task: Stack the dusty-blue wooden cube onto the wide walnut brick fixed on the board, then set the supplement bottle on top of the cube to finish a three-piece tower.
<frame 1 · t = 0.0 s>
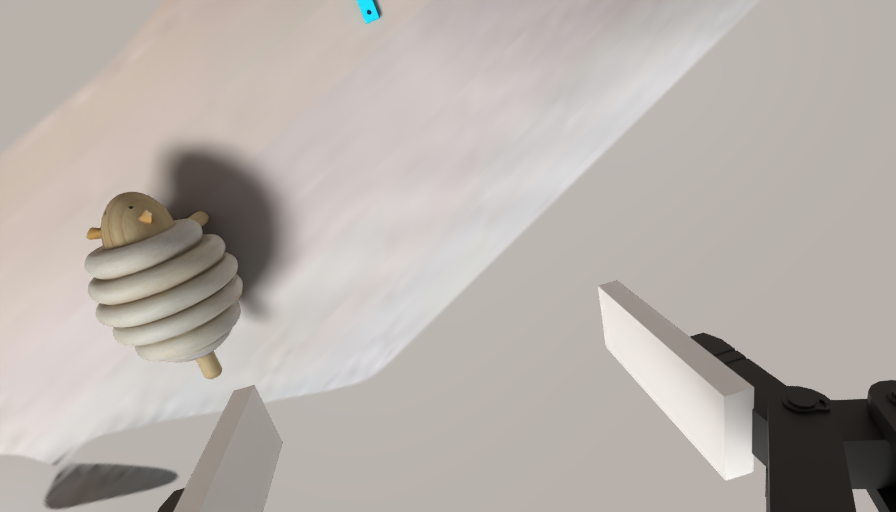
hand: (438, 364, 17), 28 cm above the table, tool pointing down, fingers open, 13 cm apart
toy sheep: (197, 265, 42), on the table
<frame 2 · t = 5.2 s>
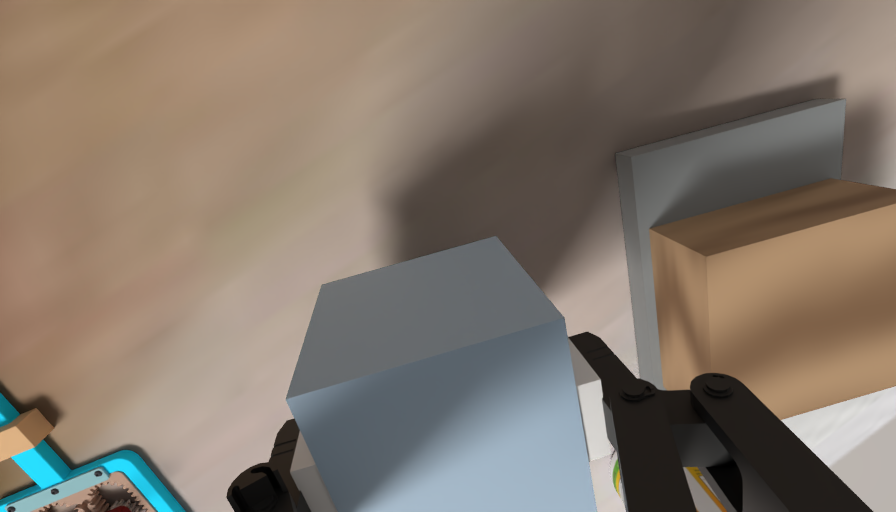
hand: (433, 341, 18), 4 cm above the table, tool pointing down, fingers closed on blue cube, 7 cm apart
board: (721, 277, 24), on the table
supplement bottle: (647, 456, 28), on the table
base brick: (741, 288, 22), resting on board
blue cube: (432, 335, 19), point 4 cm above the table, touching gripper
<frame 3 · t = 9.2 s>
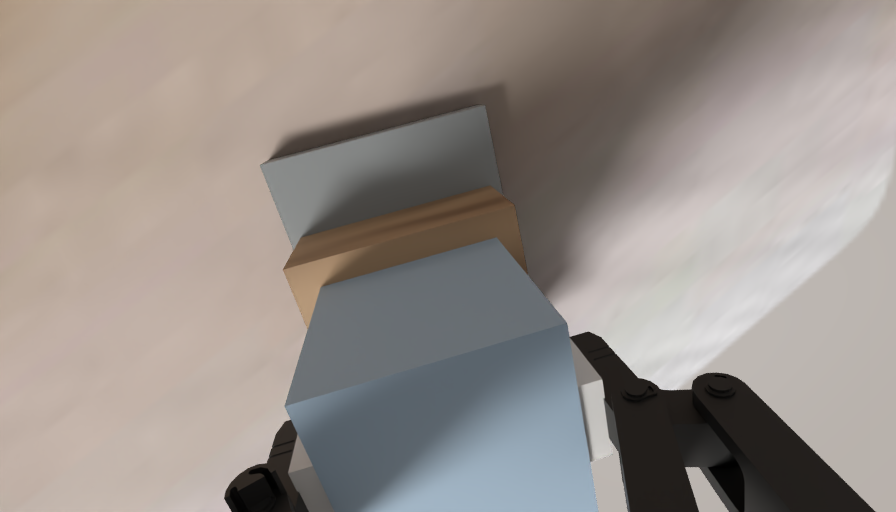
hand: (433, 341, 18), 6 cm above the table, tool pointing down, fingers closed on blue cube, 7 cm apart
board: (419, 284, 24), on the table
base brick: (421, 296, 22), resting on board
blue cube: (432, 338, 18), point 5 cm above the table, touching base brick, gripper
when the fingers open (6 cm above the table, at t = 9.7 s): blue cube stays where it is, resting on base brick.
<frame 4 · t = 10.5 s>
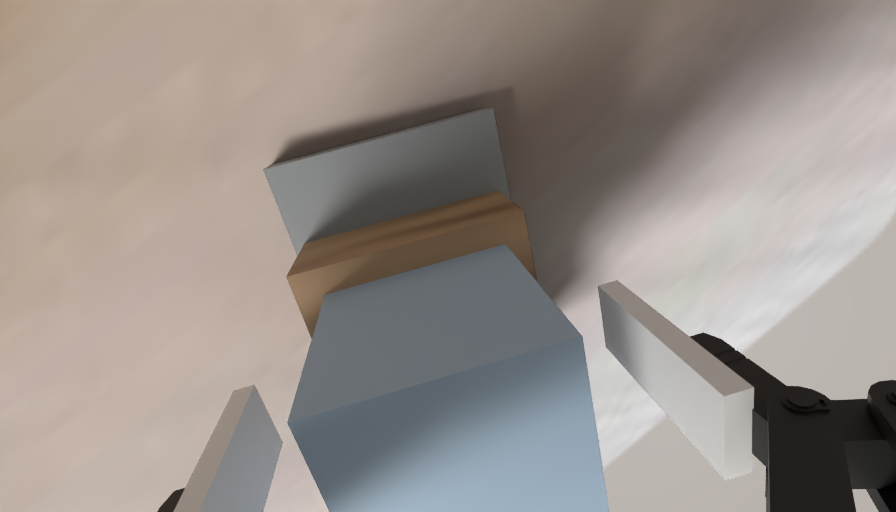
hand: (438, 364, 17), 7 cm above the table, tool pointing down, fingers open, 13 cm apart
board: (424, 290, 23), on the table
base brick: (427, 303, 22), resting on board
blue cube: (438, 346, 18), point 5 cm above the table, touching base brick
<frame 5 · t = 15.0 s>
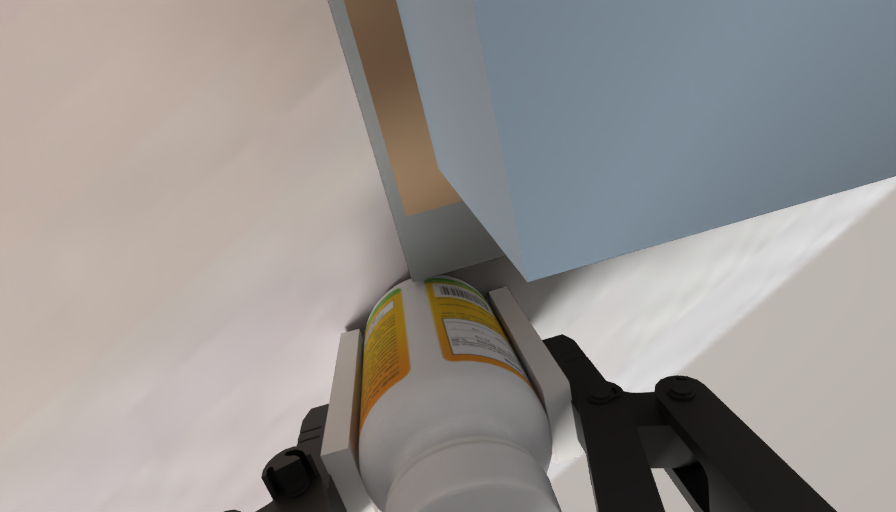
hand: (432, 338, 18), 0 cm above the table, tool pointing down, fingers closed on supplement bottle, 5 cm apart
board: (491, 10, 15), on the table
supplement bottle: (430, 328, 19), on the table, touching gripper
base brick: (502, 2, 13), resting on board
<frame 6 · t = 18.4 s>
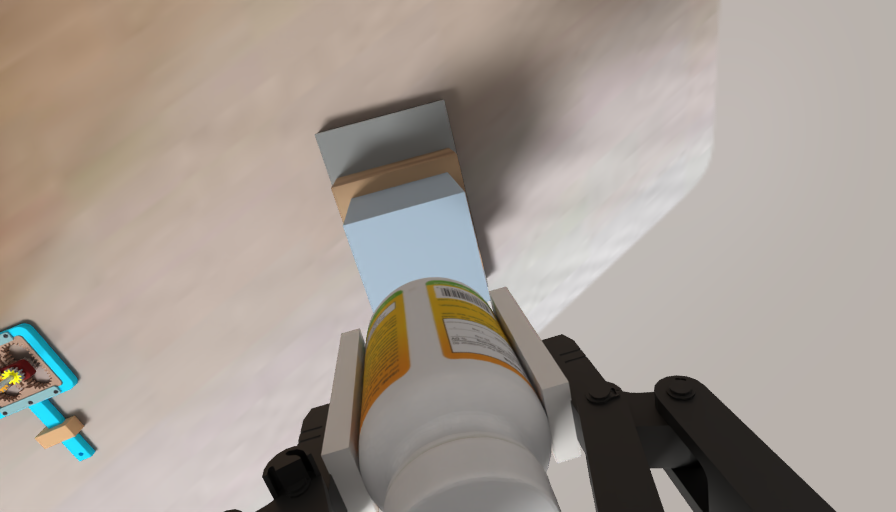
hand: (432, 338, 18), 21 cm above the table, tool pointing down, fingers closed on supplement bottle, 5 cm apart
board: (407, 212, 38), on the table
gear mechanism: (10, 369, 38), on the table
supplement bottle: (431, 331, 19), point 20 cm above the table, touching gripper
base brick: (408, 217, 36), resting on board
blue cube: (413, 231, 33), point 5 cm above the table, touching base brick
when the fingers open (13 cm above the table, at t = 20.4 s): supplement bottle stays where it is, resting on blue cube.
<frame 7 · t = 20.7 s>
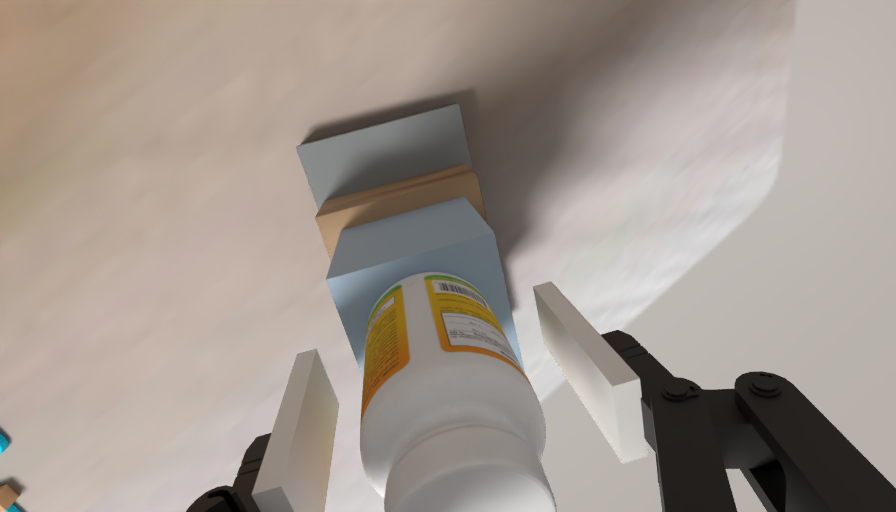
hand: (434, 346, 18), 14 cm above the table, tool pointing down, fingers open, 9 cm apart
board: (412, 241, 31), on the table
supplement bottle: (429, 325, 19), point 12 cm above the table, touching blue cube
base brick: (413, 247, 29), resting on board
blue cube: (419, 270, 26), point 6 cm above the table, touching base brick, supplement bottle
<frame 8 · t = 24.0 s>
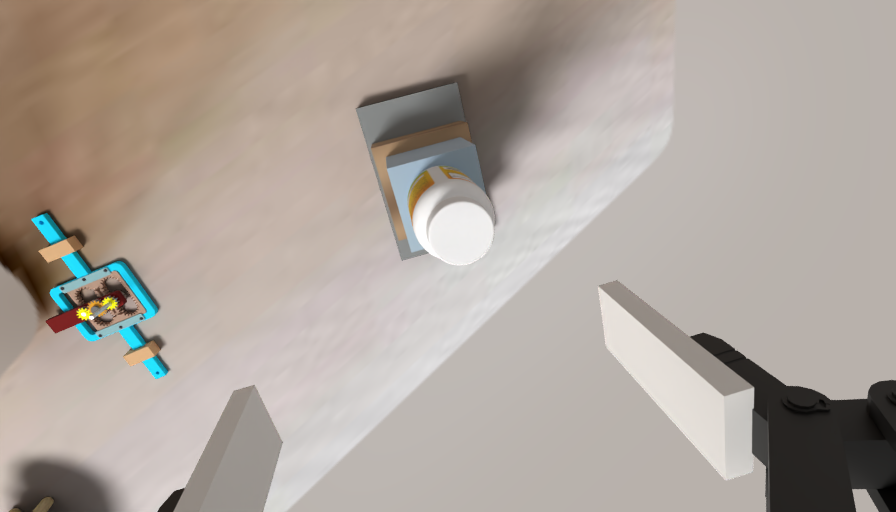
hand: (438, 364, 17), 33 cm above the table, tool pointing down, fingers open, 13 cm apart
board: (426, 174, 47), on the table
gear mechanism: (104, 300, 47), on the table
supplement bottle: (440, 198, 35), point 12 cm above the table, touching blue cube
base brick: (427, 176, 46), resting on board
blue cube: (432, 184, 42), point 5 cm above the table, touching base brick, supplement bottle
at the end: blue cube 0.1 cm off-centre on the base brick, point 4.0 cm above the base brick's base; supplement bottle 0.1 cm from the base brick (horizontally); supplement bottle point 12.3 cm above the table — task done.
